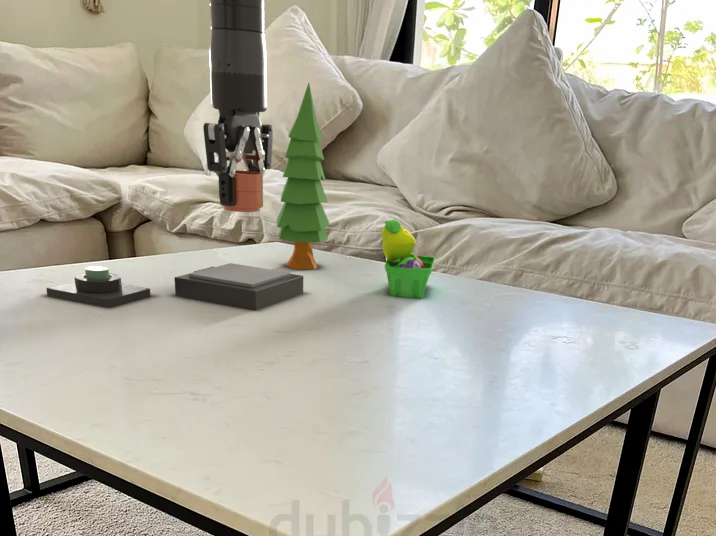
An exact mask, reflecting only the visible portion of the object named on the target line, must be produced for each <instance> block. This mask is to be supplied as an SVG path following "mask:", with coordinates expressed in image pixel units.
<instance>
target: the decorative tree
mask: <svg viewBox="0 0 716 536" xmlns="http://www.w3.org/2000/svg"><path fill="white" fill-rule="evenodd" d="M287 136H288V138H290V139H289V143H288V146H287V149H286V153H285V154H284V155H285V156H284V158H285V159H287V162H286V165H285V167H284V170H283V174H282V178H287V179H286V181H285V184H284V186H283V189H282V191H281V195H280V203H283V205H282V207H281V209H280V211H279V213H278V215H277V217H276V220H275V221H276V227H277V228H280V229H279V233H278V239H279V240H283V241H289V242H293V247H294V248H293V251H292V255H291V256H290V258H289V259H288V262H287V263H286V267H288V268H291V269H295V270H316V269H317V268H318V265H317V262H316V259H315V257H314V253H313V246H312V243H323V242H324V241H328V240H329V238H328V235H327V231H326V228H328V227H329V226H330V221H329V219H328V217H327V214H326V212H325V210H324V208H323V203H324V204H325V203H327V204H328V202H329V201H328V200H327V196H326V193H325V190H324V187H323V185H322V182H321V181H326V177H325V173H324V170H323V169H324V168H323V166H322V161H325V157H324V154H323V150H322V146H321V143H320V142H321V141H324V139H323V136H322V133H321V129H320V127H319V123H318V121H317V115H316V110H315V106H314V100H313V95H312V90H311V85H310V82H308V83H307V86H306V89H305V91H304V95H303V98H302V101H301V104H300V107H299V110H298V113H297V115H296V118H295V120H294V122H293V125H292V126H291V129H290V130H289V133H288V135H287Z"/></svg>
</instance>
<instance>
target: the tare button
mask: <svg viewBox="0 0 716 536" xmlns="http://www.w3.org/2000/svg"><path fill="white" fill-rule="evenodd" d="M84 272H85V273H86V279H91V280H105V279H110V276H109V273H110V268H109V267H106V266H101V265H100V266H97V265H96V266H95V265H94V266H87V267H85V268H84Z"/></svg>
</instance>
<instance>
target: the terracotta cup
mask: <svg viewBox="0 0 716 536" xmlns="http://www.w3.org/2000/svg"><path fill="white" fill-rule="evenodd" d="M233 178H235V186H236V204H235V206H225V205H221V203H220V202H219V206H221V207H223V210H224V211H229V212H236V213H257V212H260V211H261V209H262V208H264V174H263V173H260V172H254V171H247V170H240V169H236V172H235V176H234V177H233Z"/></svg>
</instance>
